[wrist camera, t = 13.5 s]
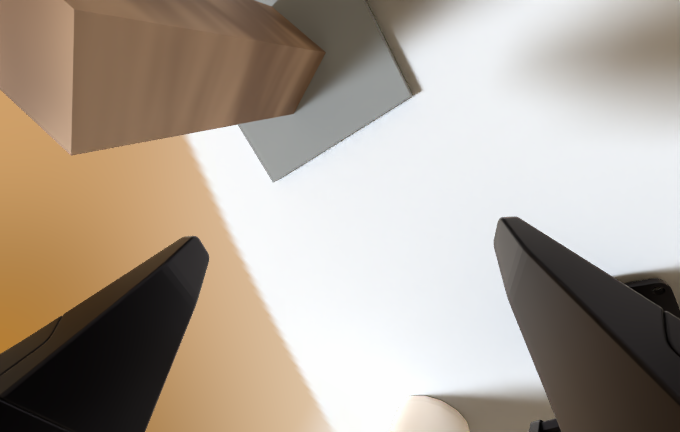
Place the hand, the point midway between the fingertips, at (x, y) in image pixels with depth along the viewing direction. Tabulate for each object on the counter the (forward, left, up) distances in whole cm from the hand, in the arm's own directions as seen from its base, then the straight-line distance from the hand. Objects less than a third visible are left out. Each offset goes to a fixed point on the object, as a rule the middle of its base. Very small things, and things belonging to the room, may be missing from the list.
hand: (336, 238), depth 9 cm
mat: (+9, +4, -12) cm, 15 cm away
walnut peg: (+9, +5, -11) cm, 15 cm away
